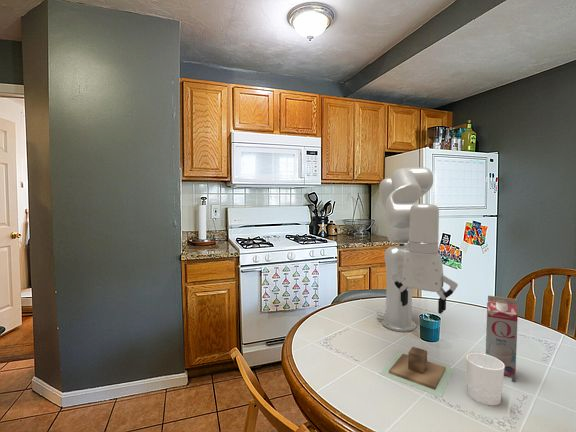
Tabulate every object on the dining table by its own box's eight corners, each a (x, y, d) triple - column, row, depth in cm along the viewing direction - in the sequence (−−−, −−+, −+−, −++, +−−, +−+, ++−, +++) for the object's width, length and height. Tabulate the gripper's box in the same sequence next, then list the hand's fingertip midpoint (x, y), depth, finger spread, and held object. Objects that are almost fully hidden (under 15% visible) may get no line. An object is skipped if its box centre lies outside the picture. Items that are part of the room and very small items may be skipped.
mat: (379, 377, 84) (379, 373, 84) (398, 354, 97) (398, 351, 97) (441, 401, 74) (441, 397, 74) (454, 372, 87) (454, 369, 87)
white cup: (497, 393, 77) (498, 355, 77) (508, 414, 70) (509, 372, 69) (462, 387, 80) (463, 350, 79) (469, 406, 72) (470, 366, 72)
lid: (388, 373, 85) (389, 352, 84) (403, 356, 94) (403, 337, 94) (435, 389, 77) (435, 367, 77) (445, 369, 86) (446, 349, 86)
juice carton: (515, 382, 82) (518, 302, 81) (485, 374, 86) (488, 298, 85) (512, 370, 88) (515, 296, 87) (485, 364, 91) (487, 292, 90)
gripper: (388, 247, 87) (387, 305, 88) (455, 252, 76) (454, 319, 77) (397, 244, 93) (396, 299, 94) (460, 249, 82) (459, 311, 83)
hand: (422, 308), depth 85 cm, fingers open, 9 cm apart
